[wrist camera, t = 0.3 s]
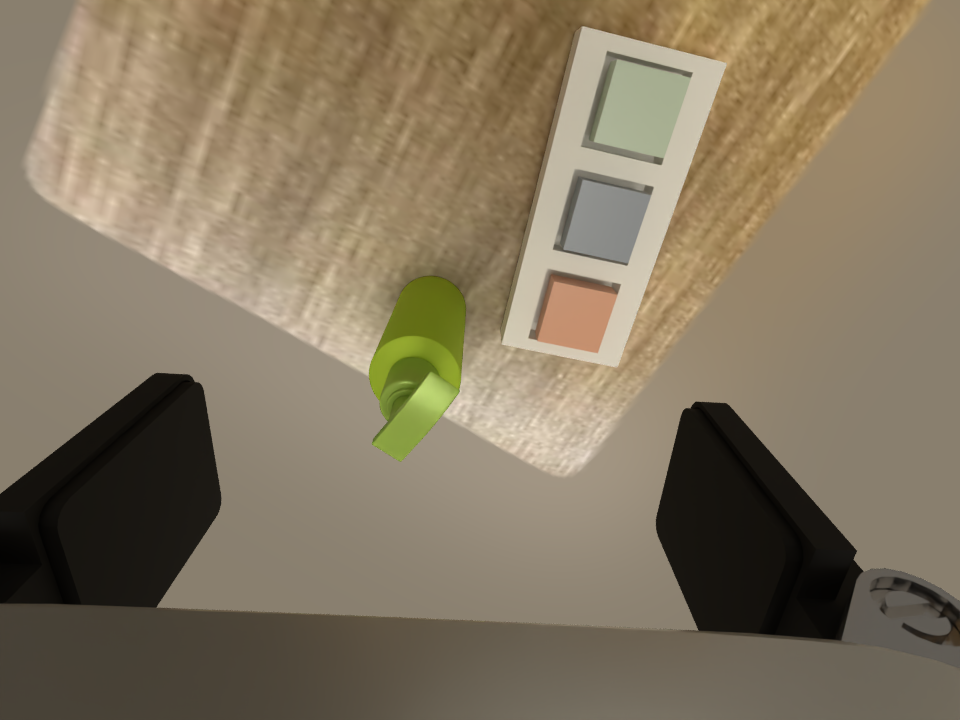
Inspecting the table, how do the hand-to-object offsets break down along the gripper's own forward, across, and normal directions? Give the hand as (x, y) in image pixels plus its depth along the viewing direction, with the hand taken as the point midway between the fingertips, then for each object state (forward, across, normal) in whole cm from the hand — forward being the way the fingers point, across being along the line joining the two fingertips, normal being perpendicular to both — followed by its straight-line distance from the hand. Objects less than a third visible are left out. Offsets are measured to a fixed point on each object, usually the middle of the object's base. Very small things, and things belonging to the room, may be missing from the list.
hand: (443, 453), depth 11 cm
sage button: (+32, -11, -7) cm, 35 cm away
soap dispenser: (+35, +2, +9) cm, 36 cm away
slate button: (+32, -10, 0) cm, 34 cm away
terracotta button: (+33, -9, +7) cm, 35 cm away
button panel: (+35, -10, 0) cm, 36 cm away
